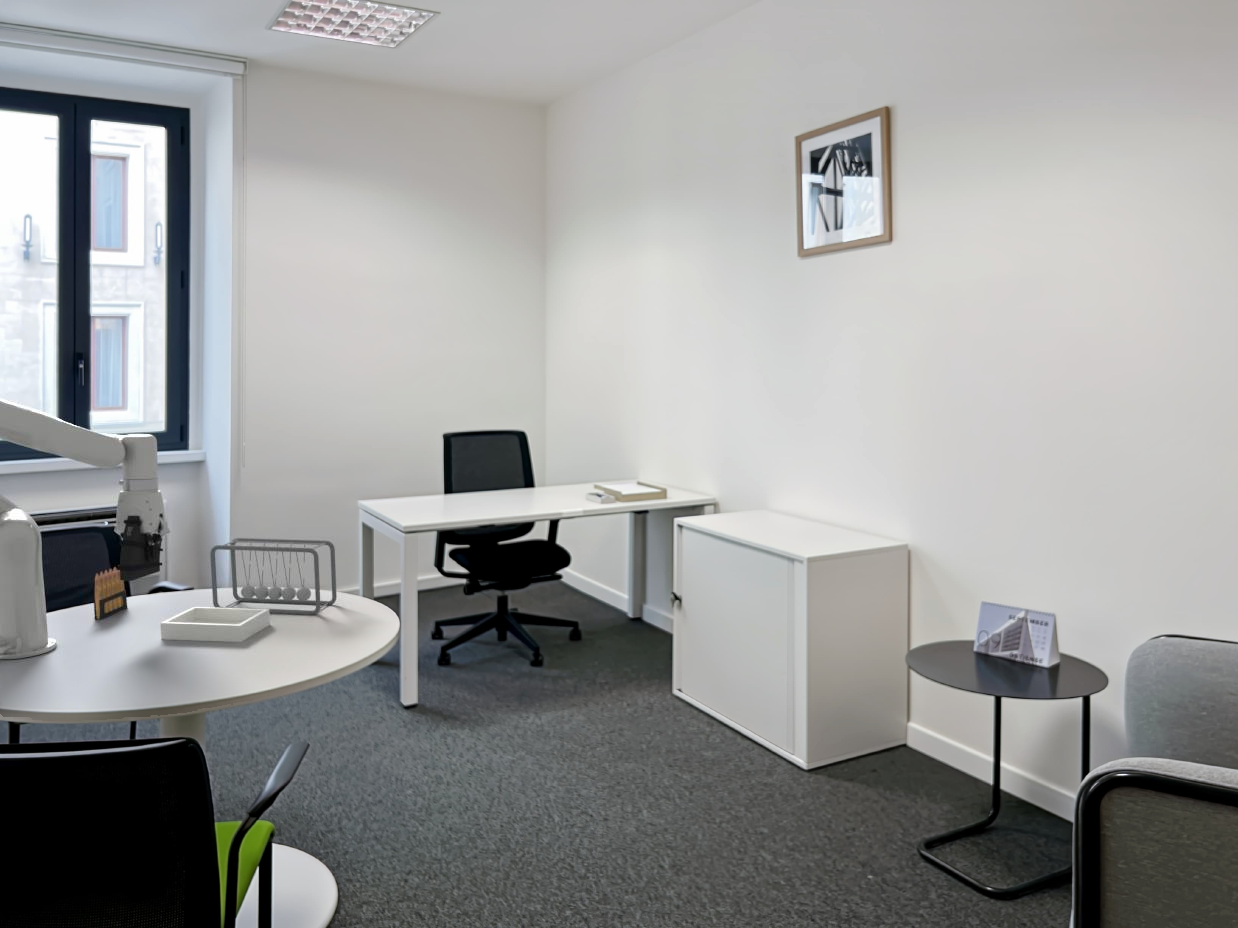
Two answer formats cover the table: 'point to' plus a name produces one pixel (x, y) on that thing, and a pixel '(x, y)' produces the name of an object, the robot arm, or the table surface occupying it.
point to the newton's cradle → (274, 591)
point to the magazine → (136, 552)
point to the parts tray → (215, 624)
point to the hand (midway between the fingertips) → (142, 559)
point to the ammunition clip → (109, 594)
